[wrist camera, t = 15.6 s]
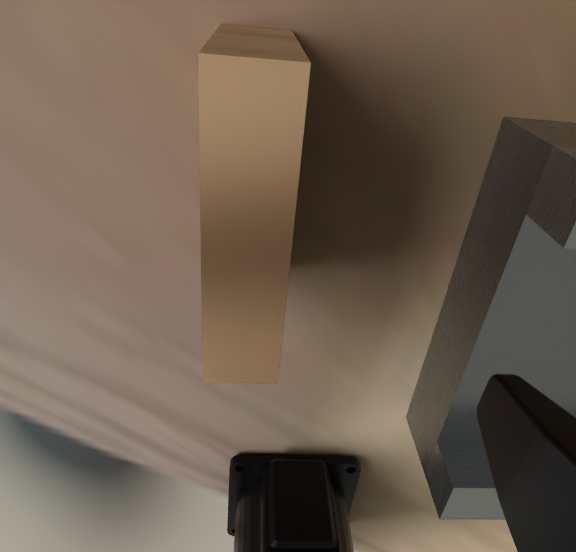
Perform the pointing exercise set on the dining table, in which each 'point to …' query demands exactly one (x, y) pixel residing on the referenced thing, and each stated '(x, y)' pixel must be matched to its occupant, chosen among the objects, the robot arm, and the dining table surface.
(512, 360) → the slot block
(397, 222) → the dining table surface
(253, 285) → the wooden block
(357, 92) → the dining table surface
